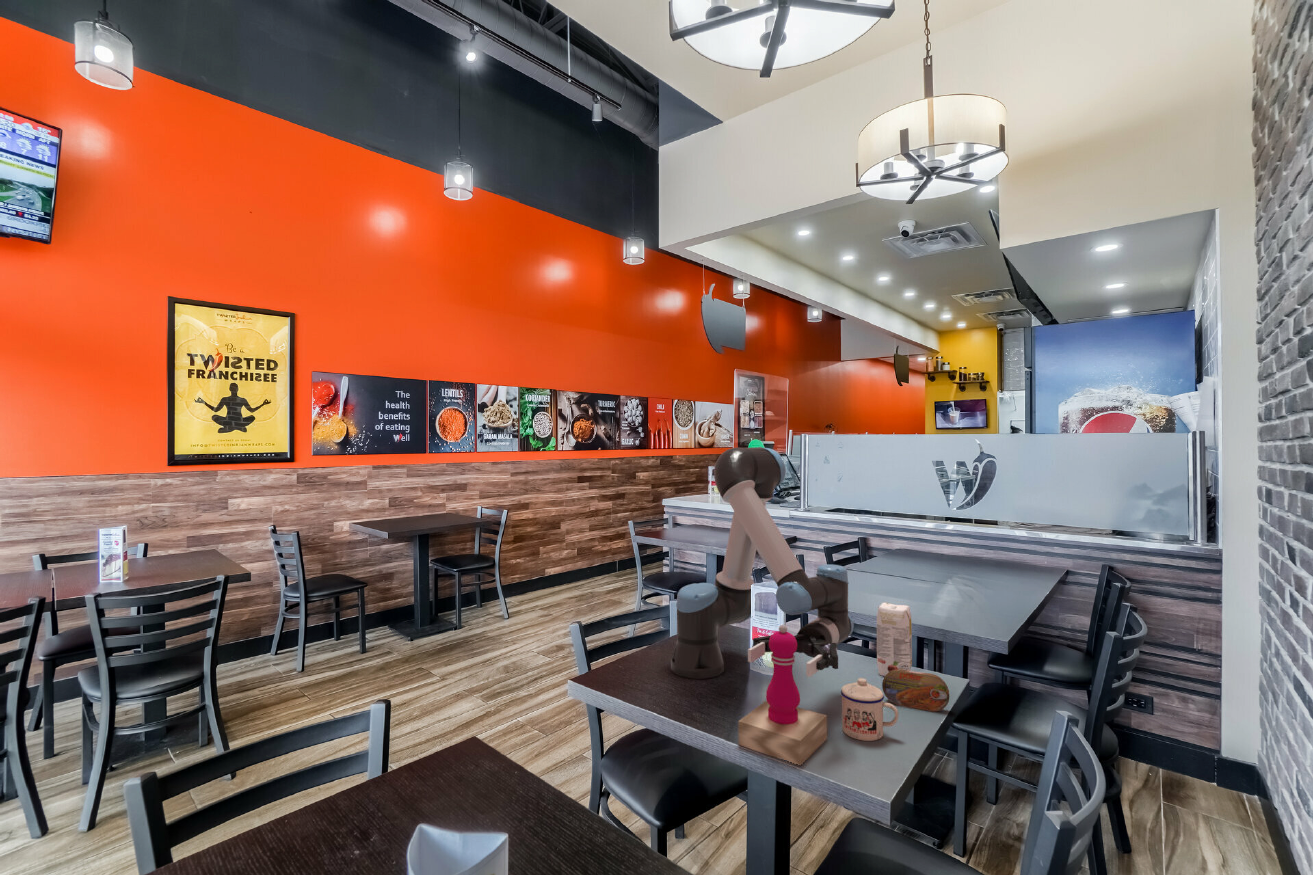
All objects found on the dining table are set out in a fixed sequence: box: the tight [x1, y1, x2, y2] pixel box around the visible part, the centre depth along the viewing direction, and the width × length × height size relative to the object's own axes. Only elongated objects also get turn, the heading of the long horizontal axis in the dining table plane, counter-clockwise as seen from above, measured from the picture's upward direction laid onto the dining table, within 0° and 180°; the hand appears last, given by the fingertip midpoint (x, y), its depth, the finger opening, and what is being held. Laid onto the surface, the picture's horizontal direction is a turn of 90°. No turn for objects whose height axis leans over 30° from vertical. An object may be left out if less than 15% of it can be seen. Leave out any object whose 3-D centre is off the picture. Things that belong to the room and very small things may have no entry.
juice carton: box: [876, 602, 913, 677], centre depth 166 cm, size 8×9×19 cm
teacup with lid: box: [840, 677, 899, 742], centre depth 132 cm, size 12×9×12 cm
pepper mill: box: [765, 624, 801, 724], centre depth 128 cm, size 7×7×20 cm
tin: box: [881, 669, 950, 712], centre depth 146 cm, size 15×3×8 cm, turn 62°
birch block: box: [737, 700, 828, 766], centre depth 128 cm, size 14×14×5 cm
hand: (777, 662), depth 127 cm, fingers open, 13 cm apart
